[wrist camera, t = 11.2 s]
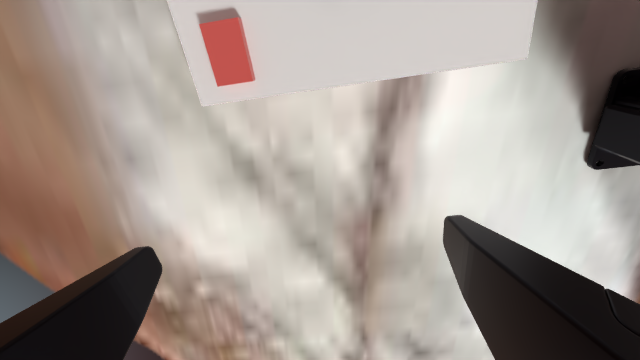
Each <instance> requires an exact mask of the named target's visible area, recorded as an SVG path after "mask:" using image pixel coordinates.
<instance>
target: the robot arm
mask: <svg viewBox="0 0 640 360" xmlns="http://www.w3.org/2000/svg"><path fill="white" fill-rule="evenodd" d="M624 77H626V79H625V80H624V81H623V79H624ZM597 161H598V162H597ZM587 165H588V166H589V167H591V168H593V169H596V170H599V169H608V168H617V167H626V166H635V165H640V68H633V69H626V70H622V71H620V72H618V73H617V74H616V75H615V76H614V78H613V80H612V83H611V87H610V90H609V93H608V96H607V99H606V103H605V106H604V109H603V112H602V116H601V119H600V122H599V125H598V129H597V132H596V135H595V138H594V142H593V145H592V148H591V151H590V154H589V158H588V161H587ZM443 244H444V248H445V250H446V253H447V256H448V258H449V261H450V264H451V266H452V269H453V272H454V274H455V277H456V280H457V282H458V285H459V288H460V290H461V293H462V295H463V297H464V299H465V301H466V304H467V306H468V308H469V309H470V311H471V313H472V315H473V317H474V319H475V321H476V323H477V325H478V327H479V329H480V331H481V333H482V335H483V337H484V339H485V341H486V343H487V345H488V347H489V349H490V351H491V353H492V355H493V357H494V358H495V360H640V304H638V303H636V302H634V301H632V300H630V299H628V298H626V297H624V296H622V295H620V294H618V293H616V292H614V291H612V290H610V289H605V288H604V287H603V286H602V285H600V284H598V283H596V282H594V281H592V280H590V279H588V278H586V277H584V276H582V275H580V274H578V273H576V272H574V271H572V270H570V269H568V268H566V267H564V266H562V265H560V264H558V263H556V262H554V261H552V260H550V259H548V258H546V257H544V256H542V255H540V254H538V253H536V252H534V251H532V250H530V249H528V248H526V247H524V246H522V245H520V244H518V243H516V242H514V241H512V240H510V239H508V238H506V237H504V236H502V235H500V234H498V233H496V232H494V231H492V230H490V229H488V228H486V227H484V226H482V225H480V224H478V223H476V222H474V221H472V220H470V219H468V218H466V217H464V216H462V215H454V216H447V217H446V218H445V220H444V233H443ZM161 274H162V265H161V263H160V261H159V259H158V257H157V255H156V253H155V251H154V250H153V248H151V247H149V246H145V247H137V248H134V249H132V250H131V251H129V252H127V253H125V254H124V255H122V256H120V257H118V258H116V259H115V260H113V261H111V262H109V263H107V264H106V265H104V266H102V267H100V268H98V269H97V270H95V271H93V272H91V273H90V274H88V275H86V276H84V277H82V278H81V279H79V280H77V281H75V282H73V283H72V284H70V285H68V286H66V287H64V288H63V289H61V290H59V291H57V292H56V293H54V294H52V295H50V296H48V297H47V298H45V299H43V300H41V301H39V302H38V303H36V304H34V305H32V306H31V307H29V308H27V309H25V310H23V311H21V312H20V313H18V314H16V315H14V316H13V317H11V318H9V319H7V320H5V321H4V322H2V323H0V360H124V358H125V356H126V354H127V352H128V350H129V348H130V346H131V344H132V342H133V340H134V338H135V336H136V334H137V332H138V330H139V328H140V326H141V323H142V321H143V319H144V317H145V314H146V312H147V309H148V307H149V304H150V302H151V299H152V297H153V294H154V292H155V289H156V287H157V284H158V282H159V279H160V276H161Z"/></svg>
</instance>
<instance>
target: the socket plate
mask: <svg viewBox="0 0 640 360" xmlns="http://www.w3.org/2000/svg"><path fill="white" fill-rule="evenodd" d="M537 1H538V0H167V2H168V5H169V9H170V12H171V15H172V18H173V21H174V24H175V27H176V30H177V33H178V36H179V39H180V42H181V45H182V48H183V51H184V54H185V57H186V60H187V63H188V66H189V69H190V72H191V75H192V78H193V81H194V84H195V87H196V90H197V93H198V96H199V99H200V102H201V105H202V107H203V106H210V105H217V104H224V103H230V102H237V101H244V100H251V99H258V98H265V97H271V96H278V95H285V94H292V93H299V92H306V91H312V90H319V89H326V88H333V87H340V86H347V85H353V84H360V83H367V82H374V81H381V80H388V79H394V78H401V77H408V76H415V75H422V74H429V73H435V72H442V71H449V70H456V69H463V68H470V67H477V66H483V65H490V64H497V63H504V62H511V61H518V60H524V59H528V53H529V47H530V42H531V36H532V30H533V24H534V19H535V13H536V7H537Z"/></svg>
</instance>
